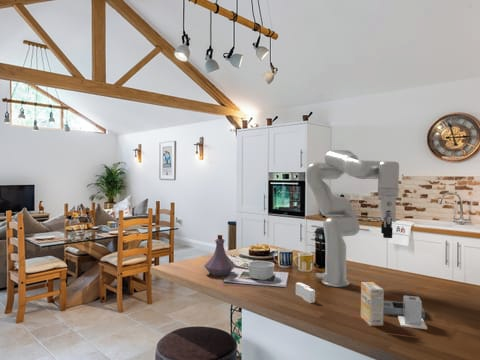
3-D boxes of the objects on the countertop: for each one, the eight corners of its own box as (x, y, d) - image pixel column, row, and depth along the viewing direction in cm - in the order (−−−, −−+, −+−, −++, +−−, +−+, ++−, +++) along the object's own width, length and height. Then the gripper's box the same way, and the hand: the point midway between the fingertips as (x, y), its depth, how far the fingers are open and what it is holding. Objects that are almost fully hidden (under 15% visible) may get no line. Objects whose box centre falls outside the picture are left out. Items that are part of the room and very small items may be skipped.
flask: (217, 268, 199) (217, 231, 199) (241, 272, 189) (242, 234, 189) (197, 274, 186) (197, 235, 185) (222, 280, 176) (222, 239, 176)
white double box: (291, 293, 159) (291, 280, 159) (317, 294, 157) (318, 281, 157) (289, 305, 144) (289, 290, 144) (318, 307, 142) (318, 292, 142)
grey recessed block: (382, 315, 133) (382, 307, 133) (380, 307, 140) (380, 300, 140) (424, 320, 128) (424, 311, 128) (420, 312, 136) (420, 303, 136)
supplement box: (359, 318, 130) (360, 281, 130) (372, 317, 131) (373, 281, 130) (370, 327, 122) (370, 288, 122) (383, 327, 122) (384, 288, 122)
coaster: (400, 327, 122) (401, 324, 122) (397, 318, 130) (397, 315, 130) (427, 330, 120) (427, 327, 120) (422, 321, 127) (422, 318, 127)
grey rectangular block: (421, 325, 122) (421, 301, 121) (405, 323, 123) (405, 299, 123) (418, 319, 126) (418, 296, 126) (403, 317, 128) (403, 295, 128)
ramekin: (278, 276, 183) (279, 262, 183) (266, 283, 172) (266, 268, 172) (256, 272, 190) (256, 259, 190) (242, 278, 179) (243, 264, 179)
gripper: (400, 194, 134) (399, 240, 134) (395, 191, 150) (394, 232, 151) (379, 193, 136) (377, 238, 136) (376, 190, 152) (375, 231, 153)
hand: (386, 235), depth 144 cm, fingers open, 9 cm apart
